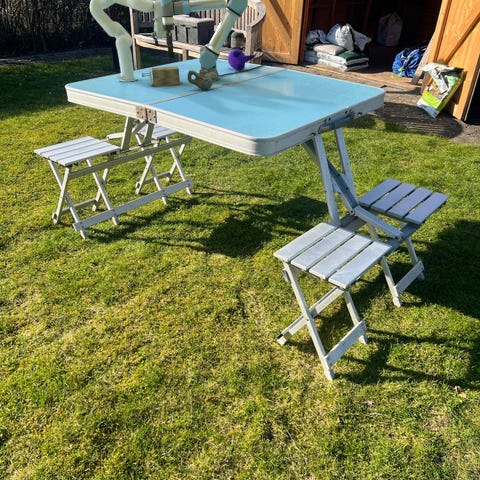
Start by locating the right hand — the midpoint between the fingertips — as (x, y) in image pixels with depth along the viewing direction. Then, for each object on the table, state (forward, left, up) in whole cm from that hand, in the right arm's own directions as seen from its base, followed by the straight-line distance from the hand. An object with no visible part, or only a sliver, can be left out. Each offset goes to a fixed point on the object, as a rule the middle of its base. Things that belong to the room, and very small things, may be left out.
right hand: (171, 57), depth 319 cm
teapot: (-11, +30, -18) cm, 37 cm away
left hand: (0, -18, +6) cm, 19 cm away
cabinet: (+5, -1, -18) cm, 19 cm away
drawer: (+10, -3, -18) cm, 20 cm away
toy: (-67, -24, -18) cm, 74 cm away
